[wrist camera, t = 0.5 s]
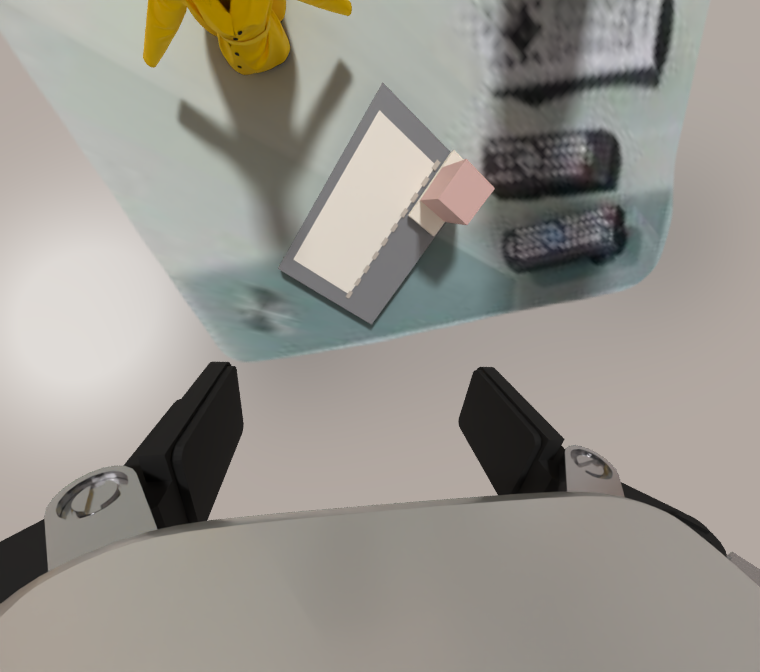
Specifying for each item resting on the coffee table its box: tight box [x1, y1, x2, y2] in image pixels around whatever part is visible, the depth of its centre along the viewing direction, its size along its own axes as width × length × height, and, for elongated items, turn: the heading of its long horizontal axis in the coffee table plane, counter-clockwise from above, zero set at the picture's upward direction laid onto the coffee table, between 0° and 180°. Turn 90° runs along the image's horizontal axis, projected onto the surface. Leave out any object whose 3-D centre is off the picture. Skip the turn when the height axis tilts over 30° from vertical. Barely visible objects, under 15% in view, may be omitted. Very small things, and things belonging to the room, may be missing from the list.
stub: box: [408, 150, 495, 236], centre depth 29 cm, size 8×4×7 cm, turn 144°
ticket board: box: [278, 83, 450, 325], centre depth 33 cm, size 22×14×2 cm, turn 144°
